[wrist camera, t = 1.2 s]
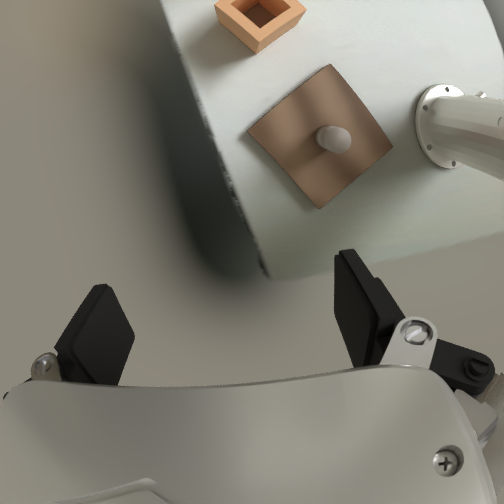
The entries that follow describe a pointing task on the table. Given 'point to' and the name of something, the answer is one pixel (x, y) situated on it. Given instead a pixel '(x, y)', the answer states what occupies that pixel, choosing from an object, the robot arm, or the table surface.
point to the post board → (300, 131)
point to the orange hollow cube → (231, 16)
